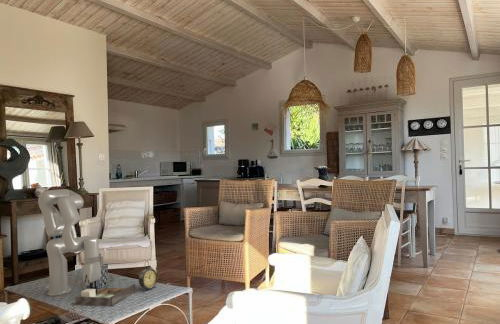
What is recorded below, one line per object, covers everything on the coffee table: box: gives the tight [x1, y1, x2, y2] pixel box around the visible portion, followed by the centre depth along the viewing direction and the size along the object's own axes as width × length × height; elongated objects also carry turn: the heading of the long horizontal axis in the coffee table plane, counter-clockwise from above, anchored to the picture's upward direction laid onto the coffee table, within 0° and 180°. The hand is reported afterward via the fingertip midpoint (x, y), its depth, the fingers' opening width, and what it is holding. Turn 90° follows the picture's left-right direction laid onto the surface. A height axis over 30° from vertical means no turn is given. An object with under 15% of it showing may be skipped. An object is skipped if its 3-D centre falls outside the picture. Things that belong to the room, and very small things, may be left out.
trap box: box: [75, 283, 137, 307], centre depth 210 cm, size 22×22×4 cm
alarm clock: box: [138, 261, 158, 293], centre depth 221 cm, size 11×5×16 cm, turn 148°
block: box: [80, 288, 96, 297], centre depth 206 cm, size 5×5×4 cm
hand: (93, 293), depth 211 cm, fingers closed
